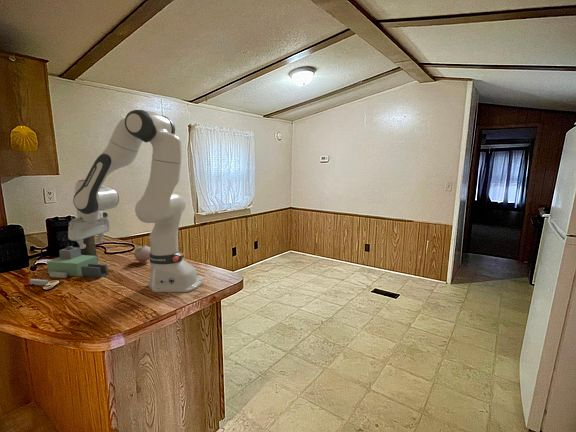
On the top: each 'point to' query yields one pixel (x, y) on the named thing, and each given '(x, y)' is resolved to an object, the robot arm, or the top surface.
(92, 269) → the chute
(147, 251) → the decorative fruit
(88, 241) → the container
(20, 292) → the top surface
